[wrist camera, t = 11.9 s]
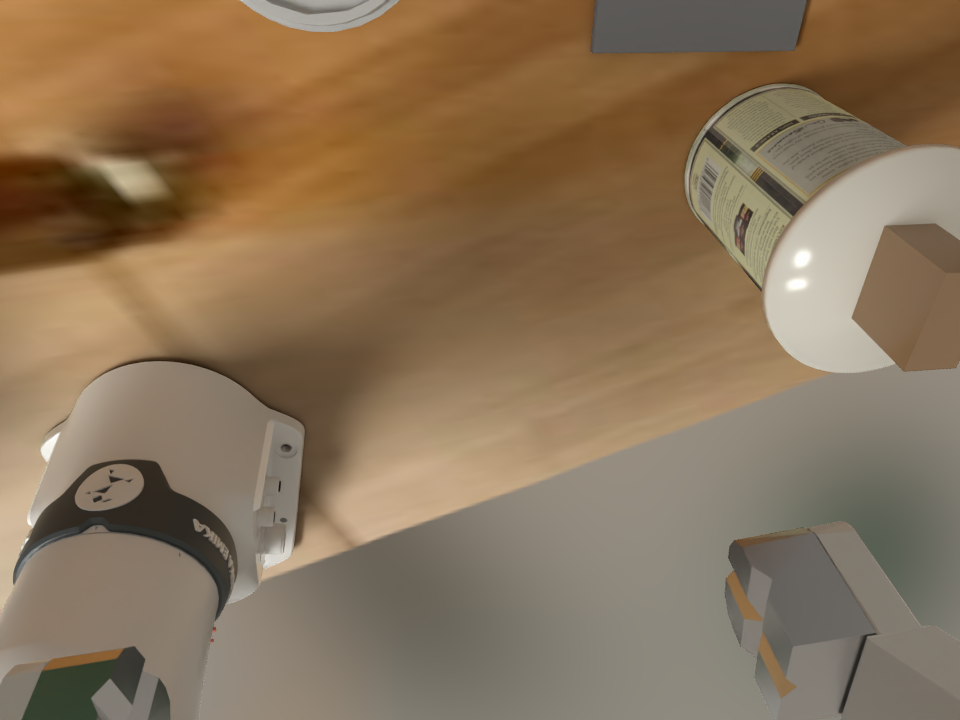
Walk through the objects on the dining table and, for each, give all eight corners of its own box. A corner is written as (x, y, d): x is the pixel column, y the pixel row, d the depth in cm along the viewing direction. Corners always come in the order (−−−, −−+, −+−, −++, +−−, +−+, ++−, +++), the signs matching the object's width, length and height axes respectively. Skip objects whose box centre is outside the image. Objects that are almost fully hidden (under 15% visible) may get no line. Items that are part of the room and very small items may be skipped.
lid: (950, 357, 39) (1019, 420, 35) (738, 370, 38) (783, 437, 34) (1053, 138, 32) (1155, 184, 28) (797, 148, 31) (863, 196, 27)
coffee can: (853, 189, 49) (997, 295, 37) (709, 260, 51) (804, 382, 39) (822, 47, 43) (980, 121, 31) (661, 134, 45) (755, 234, 34)
